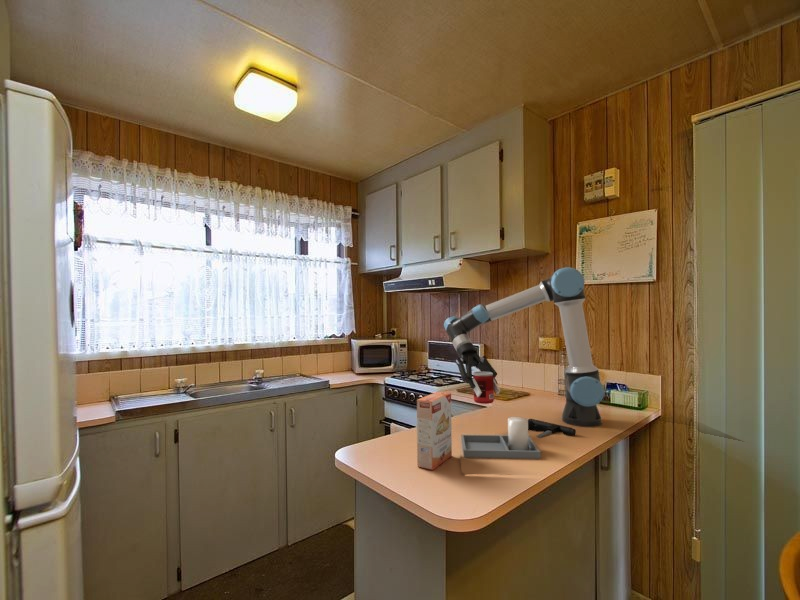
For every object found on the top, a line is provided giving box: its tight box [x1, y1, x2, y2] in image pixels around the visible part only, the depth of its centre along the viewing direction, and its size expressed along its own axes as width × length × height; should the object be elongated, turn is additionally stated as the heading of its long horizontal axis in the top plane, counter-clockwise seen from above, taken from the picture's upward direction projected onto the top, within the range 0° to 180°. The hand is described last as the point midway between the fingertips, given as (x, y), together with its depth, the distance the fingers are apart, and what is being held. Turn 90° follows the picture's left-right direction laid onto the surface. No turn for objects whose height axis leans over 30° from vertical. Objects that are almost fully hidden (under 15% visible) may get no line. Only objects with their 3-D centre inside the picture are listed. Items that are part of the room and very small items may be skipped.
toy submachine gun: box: [528, 418, 577, 439], centre depth 149 cm, size 3×20×16 cm
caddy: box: [460, 434, 542, 460], centre depth 130 cm, size 24×16×3 cm, turn 84°
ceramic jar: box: [507, 416, 530, 451], centre depth 129 cm, size 7×7×10 cm
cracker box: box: [416, 391, 453, 471], centre depth 122 cm, size 14×6×21 cm, turn 148°
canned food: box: [472, 370, 495, 405], centre depth 148 cm, size 8×8×11 cm
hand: (488, 393), depth 144 cm, fingers closed on canned food, 8 cm apart
